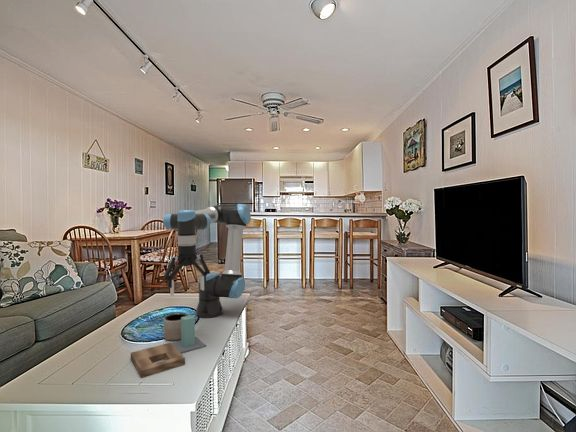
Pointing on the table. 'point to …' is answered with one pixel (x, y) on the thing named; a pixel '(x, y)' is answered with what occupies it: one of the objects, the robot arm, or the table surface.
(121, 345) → the table surface
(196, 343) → the rubber mat
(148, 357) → the pocket board
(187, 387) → the table surface
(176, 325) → the planter
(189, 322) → the teal block
